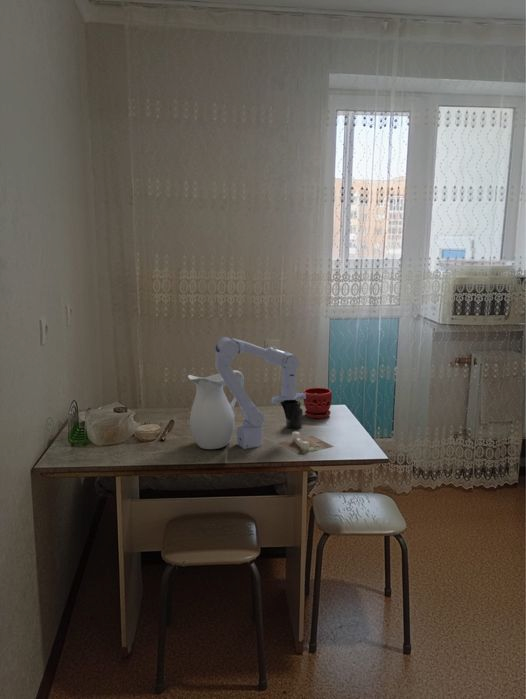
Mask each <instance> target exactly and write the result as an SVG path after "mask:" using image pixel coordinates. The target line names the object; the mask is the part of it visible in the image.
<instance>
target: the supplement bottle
mask: <svg viewBox="0 0 526 699" xmlns="http://www.w3.org/2000/svg"><path fill="white" fill-rule="evenodd" d="M297 401H298V400H297ZM301 407H302V406H301V402H300V401H298V404H297V405H296V407H295V409H294V412H293V415H292V418H291V419H286V418H285V428H286V429H289V430H301V429H302V428H303V413H304V412H303V408H301Z"/></svg>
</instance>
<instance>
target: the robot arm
mask: <svg viewBox="0 0 526 699" xmlns="http://www.w3.org/2000/svg"><path fill="white" fill-rule="evenodd" d="M214 353H215V354H214V355H215V358H214V359H215V362H214V363H215V364H214V365H215V369H216V371H217V372H218V374H220V375H221V377H222V378H223V380H224V381H225V383H226V386H227V388H228V390H229V391H230V392H231V394H232V395H233V398H234V397H235V399H236V400H237V402H236V403H238V405H239V408H240V410H241V414H242V417H243V418H244V420H243V424H241V426H238V427H237V429H236V445H237V446H239V447H241V448H242V449H243V450H245V449H246V450H247V449H251V448H258V447H261V446H262V445H263V437H264V436H263V432H264V431H263V424H264V422H265V414H264V413H263V412H262V411H261V410H259V408H257V406H256V405H255V403H254V402H253V401H252V399H251V398H250V396H249V395H248V393H247V392H246V390H245V388H244V387H243V386H242V385H241V383H240V382H239V377H238V376H237V375H236V374H234V372H233V370H234V369H232V368H231V366H232V362H233V360H234V359H235V357H236V356H237V355H238V354H239V355H241V354H242V353H243V354H244V353H248V354H252V355H255V356H259V357H263V360H264V361H265V362H266V363H270V364H272V365H276V366H279V367H281V394H280V395H277V396H273V397H271V403H272V404H277V403H280V405H281V406H282V409H283V413H284V415H285V420H286V419H291V418H292V415H293V412H294V409H295V407H296V405H297V404H298V400H301V399H306V394H305V393H303V392H297V388H298V387H297V384H298V383H297V382H298V380H297V379H298V376H297V375H298V372H297V371H298V368H299V367H300V361H299V360H300V359H299V358H298V357H297V356H296V355H295V354H293V353H291V352H289V351H287V350H284V351H283V350H282V349H281V350H280V349H278V347H276V346H268V347H266V348H264V347H261V346H258V345H255V344H254V343H250V342H248V341H244V340H241V339H238V338H233V337H232V338H230V337H228V336H222V337H220V338H218V340H217V342H216V344H215V346H214Z"/></svg>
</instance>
